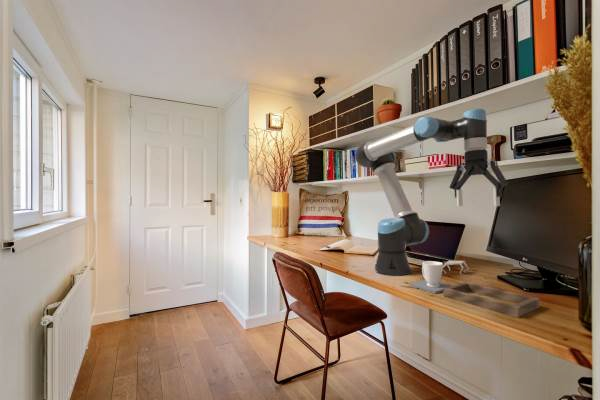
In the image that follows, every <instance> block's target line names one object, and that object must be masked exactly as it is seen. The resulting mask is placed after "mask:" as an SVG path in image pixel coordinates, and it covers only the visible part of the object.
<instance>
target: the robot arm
mask: <svg viewBox="0 0 600 400" xmlns="http://www.w3.org/2000/svg"><path fill="white" fill-rule="evenodd" d="M487 123H488V120H487V113H486V110H485V109H484V108H472V109H468V110H466V111H464V112H463V114H462V118H459V119H455V120H445V119H440V118H436V117H433V116H422V117H419V118H418V119H417V121H416V122H415V124H412V125H410V126H408V127H406V128H403V129H401V130H398V131H396V132H394V133H390V134H389V135H386V136H384V137H382V138H380V139H377V140H374V141H372V140H371V141H367V142H365V143H363V144H361V145H360V146H358V147H357V149H356V150H355V153H354V158H355V161H356V162H357V164H358V165H359V166H361V167H363V168H370V169H371V171H372V173H373V175H374V176H377V178H378V180H379V182H380V184H381V186H382V187H381V188H382V190H383V192H384V194H385V196H386V200H387V201H388V203H389V206H390V208H391V211H392V213H393V216H394V217H391V218H383V219H381V220H379V221H378V224H377V245H378V246H377V248H378V249H377V250H378V254H377V258H376V262H375V264H374V271H375V270H376V271H377V272H376V271H375V272H376V273H378V272H380V273H379V274H381V273H383V274H382V275H386V274H389V275H388V276H403V275H405V276H407V275H408V274H411V271H412V270H411V269H412V268H411V265H410V263H409V260H408V257H407V252H406V250H407V249H406V248H407V247H408V246H412V245H413V246H414V245H419V244H422V243H424V242H426V240H427V239H428V236H429V235H430V227H429V225H428V223H427V222H426V220H424V219H422V218H420V217H419V215H418V212H416V211H414V210H413V209H412V207H411V205H410V202H409V199H408V198H407V195H406V193H405V191H404V189H403V186H402V184H401V183H400V180H399V178H398V175H397V173H396V171H395V167H396V161H397V160H396V159H397V155H396V151H398V150H399V151H400V150H402V149H404V148H406V147H410V146H413V145H415V144H417V143H420V142H424V141H426V140H429V139H433V140H435V141H436V142H437V143H443V142H444V143H445V142H450V141H454V140H458V139H463V149H464V162H465V163H464V165H463V164H461V165H460V164H457V166H456V170H455V172H454V175H453V178H452V180H451V183H450V185H449V189H452V190H453V191H454V198H456V207H463V205H464V204H463V201H464V200H463V199H464V198H463V189H462V187H463V186H464V185H465V184H466V182H467V181H468V180H469V178H470V177H472V176H477V175H479V176H480V175H481V176H482V175H483V176H484V177H485V178H486V179H487V180H488V181H489V182H490V183H491V184H492V185H493V186H494V187H493V188H492V191H493V193H492V194H493V195H492V196H493V207H500V206H501V202H500V200H501V199H500V198H501V197H503V188H504V187H506V186H507V187H508V185H509V182H508V180H507V179H506V178H505V176H504V174H503V172H502V170H501V169H500V168H499V164H498V162H497V160H490V161H488V160H489V158H488V150H487V149H488V134H487V133H488V132H487V127H488V126H487ZM488 167H489V168H491V170H492V172H493V173H494V175H495V176H496V177H495V176H494V175H493V174H492V173H491V172H490V171H489V170H488ZM464 170H465V171H464ZM463 172H464V173H463Z"/></svg>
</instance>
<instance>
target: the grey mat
mask: <svg viewBox="0 0 600 400" xmlns="http://www.w3.org/2000/svg"><path fill="white" fill-rule="evenodd" d="M407 285H410V286H413V287H416V288H415V289H417V288H419V289H418V290H420V289H422V290H421V291H424V290H426V291H425V292H427V291H429V292H428V293H431V292H432V293H431V294H434V293H437V294H440V293H444V290H443V289H444V288H447V287H451V286H454V285H453V284H449V283H444V282H441V281H440V283H439V285H440V286H439V287H430V286H427V281H426V280H425V279H422V280H418V281H414V282H410V283H408V284H407ZM410 286H409V287H410ZM413 287H412V288H413Z"/></svg>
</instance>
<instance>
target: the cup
mask: <svg viewBox="0 0 600 400" xmlns="http://www.w3.org/2000/svg"><path fill="white" fill-rule="evenodd" d="M421 263H422V266H421V267H422V268H421V272H422V273H421V274H422V276H423V279H424V280H426V281H427V286H430V287H439V286H440V285H439V283H440V282H441V281H442V275H443V271H442V270H444V268H443V266H444V263H443V262H440V261H435V260H434V261H433V260H426V261H425V260H424V261H422V262H421Z"/></svg>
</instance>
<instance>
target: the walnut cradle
mask: <svg viewBox="0 0 600 400" xmlns="http://www.w3.org/2000/svg"><path fill="white" fill-rule="evenodd" d="M443 290H444V291H443V297H445V298H448V299H452V300H456V301H460V302H463V303H466V304H470V305H473V306H476V307H479V308H483V309H487V310H490V311H494V312H498V313H500V314H504V315H507V316H511V317H514V318H520V317H522V316H525V315H526V314H528V313H531V312H532V311H535V310H537V309H538V308H540V298H537V297H534V296H530V295H529V296H528V295H524V294H520V293H516V292H512V291H511V292H510V291H507V290H502V289H498V288H494V287H490V286H484V285H480V284H476V283H472V282H467V281H466V282H462V283H458V284H454V285H453V286H451V287H447V288H444V289H443ZM467 292H471V293H467ZM472 293H474V294H472ZM475 294H478V295H475ZM480 295H483V296H480ZM484 296H487V297H484ZM488 297H490V298H488ZM491 298H494V299H499V300H501V301H499V300H494V299H491ZM502 301H506V302H507V303H506V302H502ZM508 302H510V303H508ZM511 303H514V304H511Z"/></svg>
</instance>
